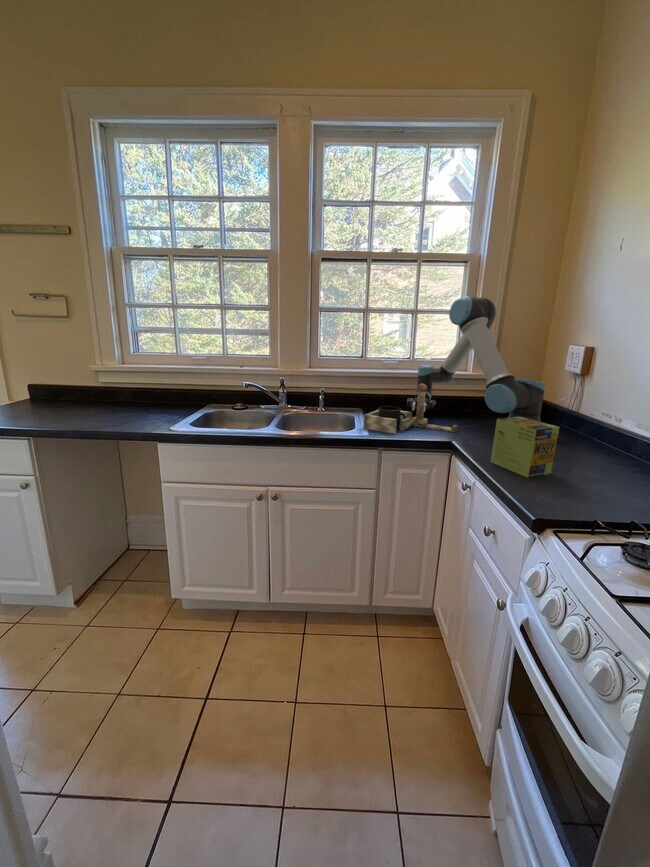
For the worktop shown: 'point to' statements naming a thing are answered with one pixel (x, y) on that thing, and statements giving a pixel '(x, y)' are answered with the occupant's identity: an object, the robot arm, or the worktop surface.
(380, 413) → the mug
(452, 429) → the rail
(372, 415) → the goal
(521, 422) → the protein box
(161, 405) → the worktop surface
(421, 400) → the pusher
